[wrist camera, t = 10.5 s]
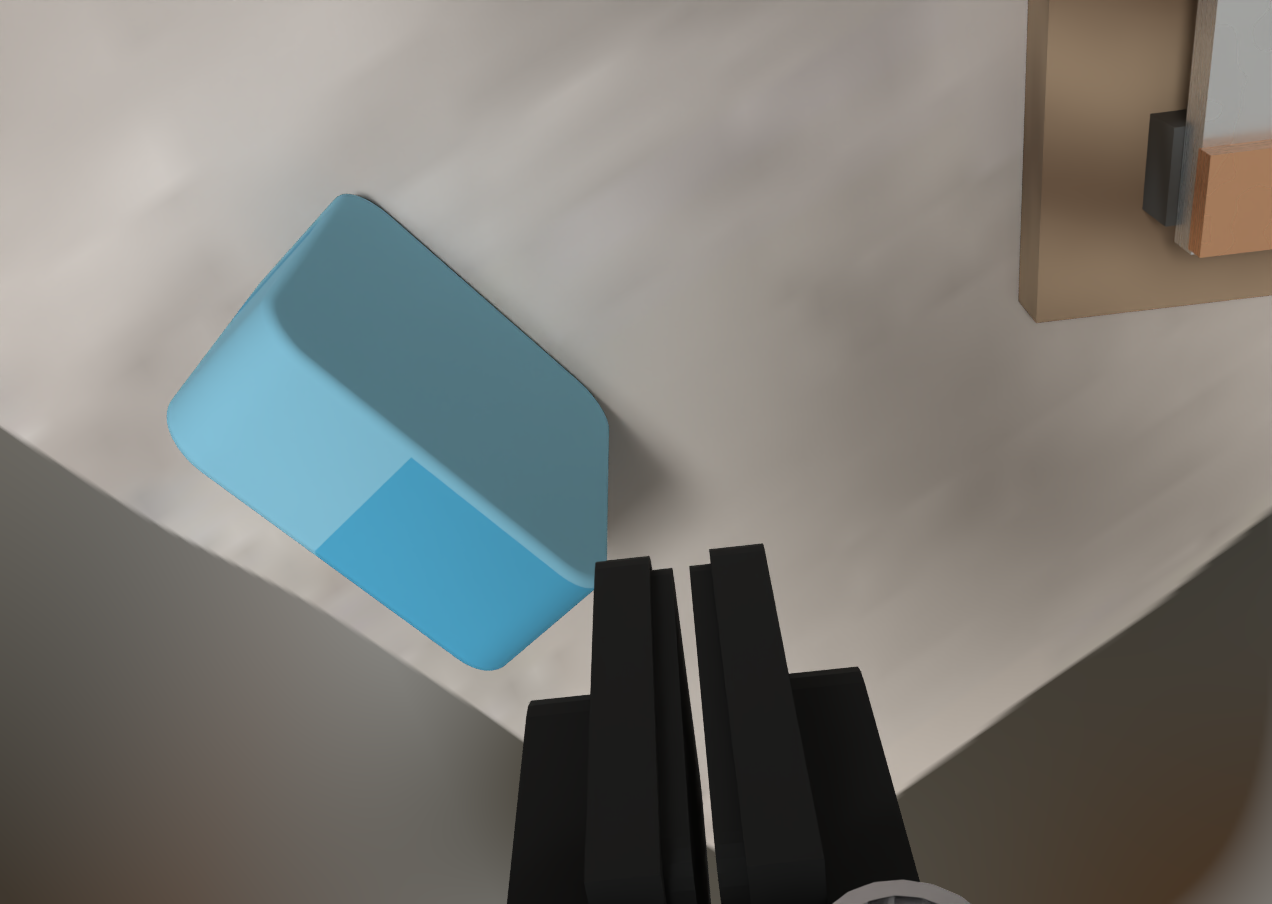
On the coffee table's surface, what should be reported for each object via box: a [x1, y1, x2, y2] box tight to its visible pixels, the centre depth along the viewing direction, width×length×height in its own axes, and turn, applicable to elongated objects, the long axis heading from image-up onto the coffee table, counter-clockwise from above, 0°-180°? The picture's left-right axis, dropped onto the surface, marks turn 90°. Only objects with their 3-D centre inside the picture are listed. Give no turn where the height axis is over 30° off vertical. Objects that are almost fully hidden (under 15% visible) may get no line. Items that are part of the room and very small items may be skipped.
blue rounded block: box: [167, 194, 609, 670], centre depth 36 cm, size 12×4×12 cm, turn 45°
